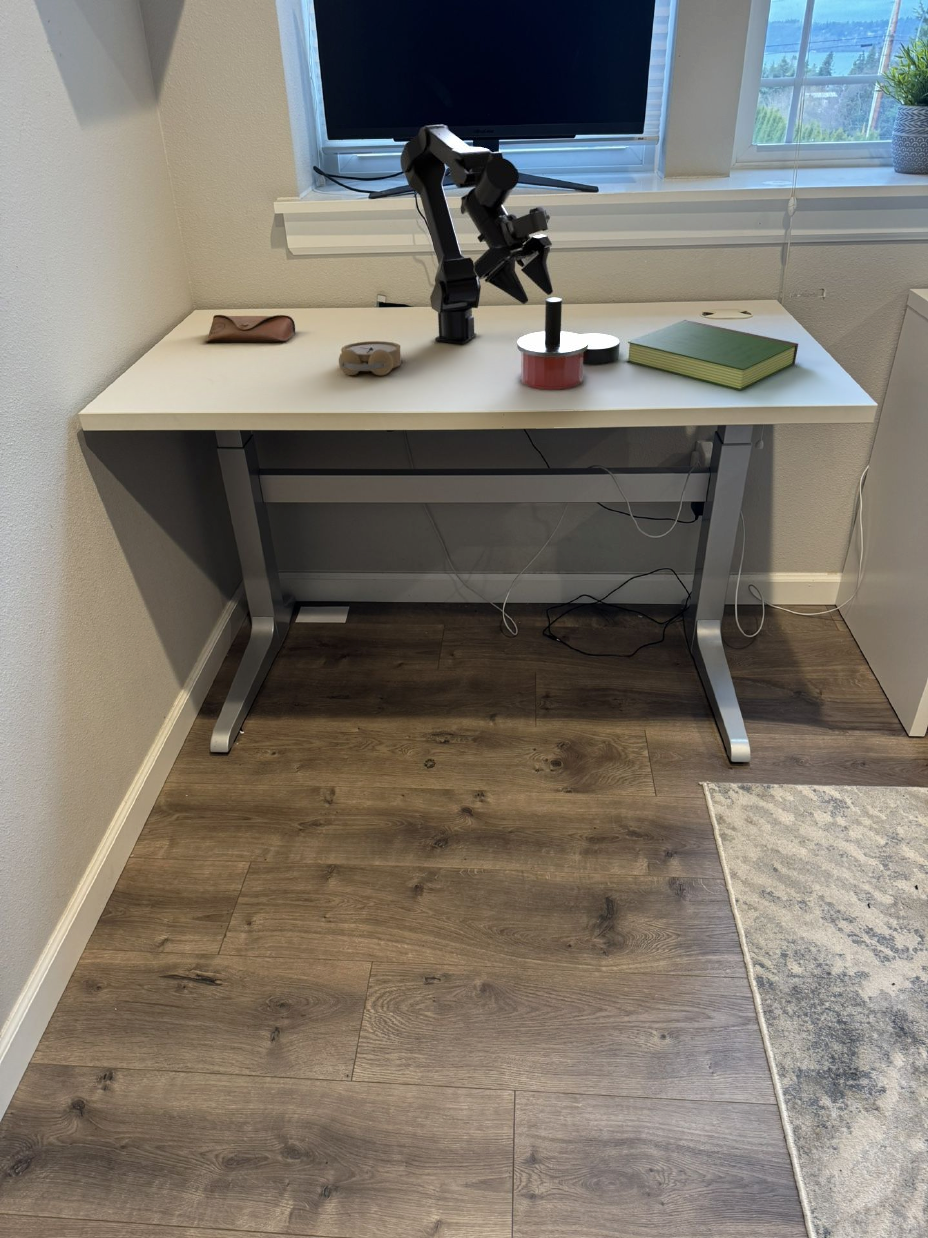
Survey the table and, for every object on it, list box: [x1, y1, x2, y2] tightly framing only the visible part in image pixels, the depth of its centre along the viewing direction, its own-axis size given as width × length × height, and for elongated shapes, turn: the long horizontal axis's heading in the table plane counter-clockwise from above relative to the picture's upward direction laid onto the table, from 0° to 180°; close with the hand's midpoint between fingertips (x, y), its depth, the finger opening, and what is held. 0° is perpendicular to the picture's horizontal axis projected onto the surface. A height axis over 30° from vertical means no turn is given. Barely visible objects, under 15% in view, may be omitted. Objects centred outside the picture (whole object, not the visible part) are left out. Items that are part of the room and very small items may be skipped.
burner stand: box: [579, 333, 621, 366], centre depth 167 cm, size 10×10×3 cm
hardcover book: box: [626, 319, 799, 392], centre depth 162 cm, size 25×19×4 cm
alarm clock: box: [338, 340, 402, 376], centre depth 165 cm, size 11×5×15 cm
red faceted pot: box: [520, 351, 584, 391], centre depth 156 cm, size 11×11×6 cm
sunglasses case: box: [204, 314, 296, 344], centre depth 185 cm, size 18×7×7 cm
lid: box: [516, 297, 589, 357], centre depth 153 cm, size 13×13×8 cm
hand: (538, 297), depth 155 cm, fingers open, 9 cm apart
